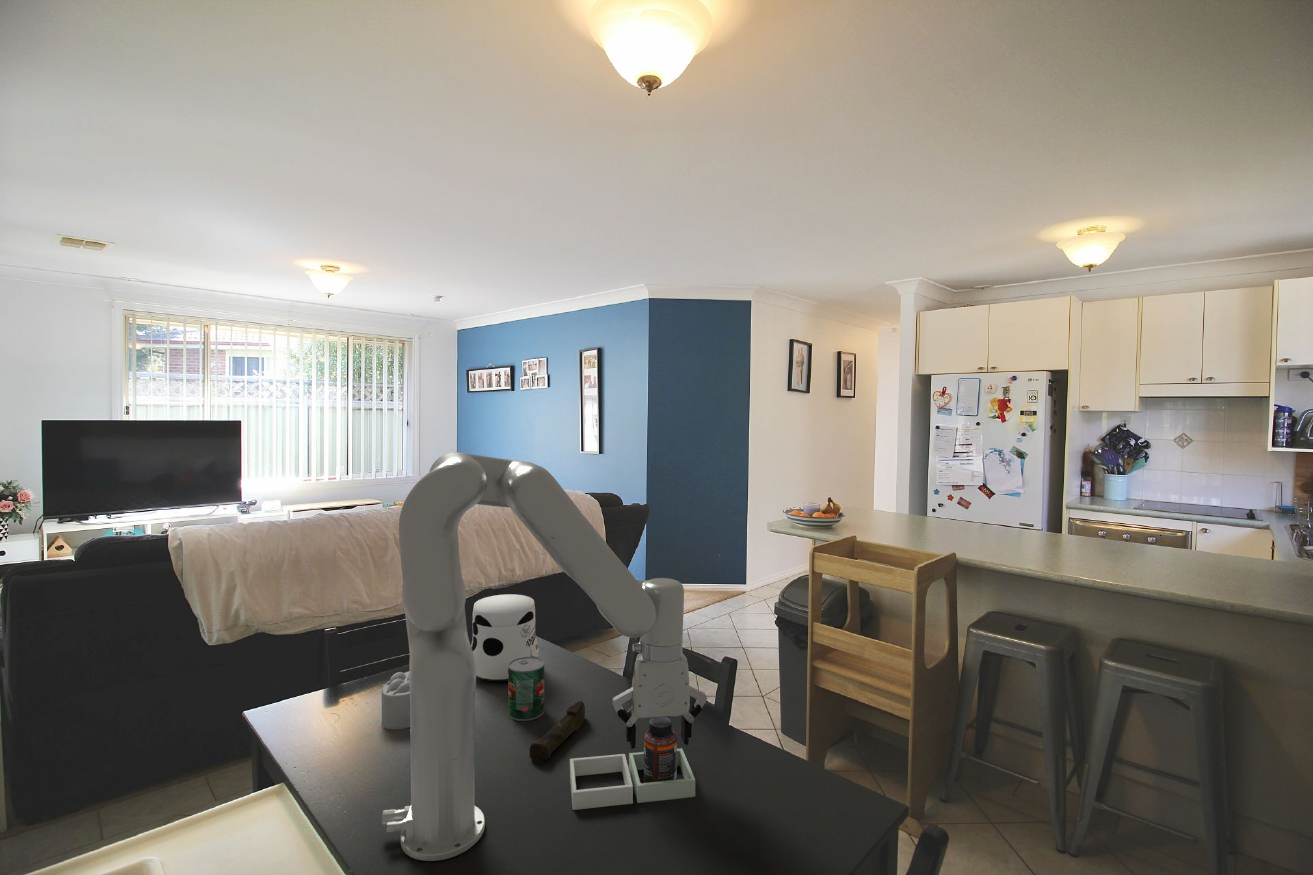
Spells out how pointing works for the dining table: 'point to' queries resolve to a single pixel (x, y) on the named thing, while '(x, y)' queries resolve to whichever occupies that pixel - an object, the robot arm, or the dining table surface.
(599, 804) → the grey bin
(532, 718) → the canned tomato
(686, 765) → the sage bin
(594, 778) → the dining table surface
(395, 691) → the lumpy-topped squat cylinder
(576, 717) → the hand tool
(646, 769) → the supplement bottle
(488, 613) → the milk container
